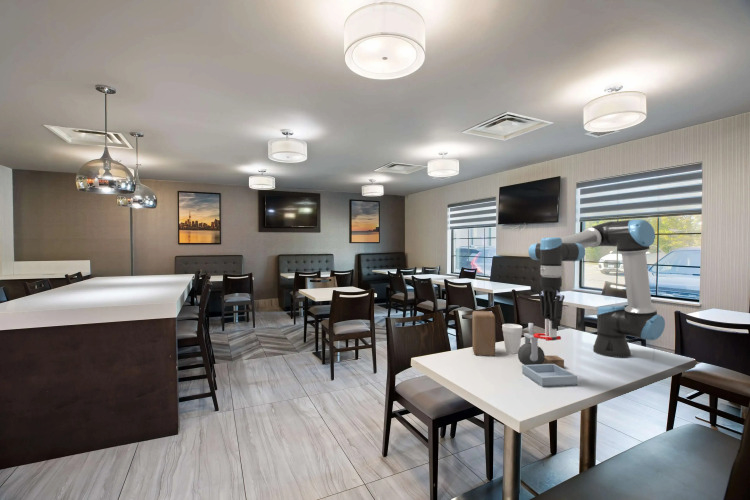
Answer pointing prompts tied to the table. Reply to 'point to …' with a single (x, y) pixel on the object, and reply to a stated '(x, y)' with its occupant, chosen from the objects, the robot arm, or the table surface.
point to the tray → (549, 375)
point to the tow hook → (538, 335)
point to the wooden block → (483, 333)
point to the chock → (554, 361)
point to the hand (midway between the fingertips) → (550, 336)
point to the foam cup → (512, 337)
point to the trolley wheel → (530, 349)
